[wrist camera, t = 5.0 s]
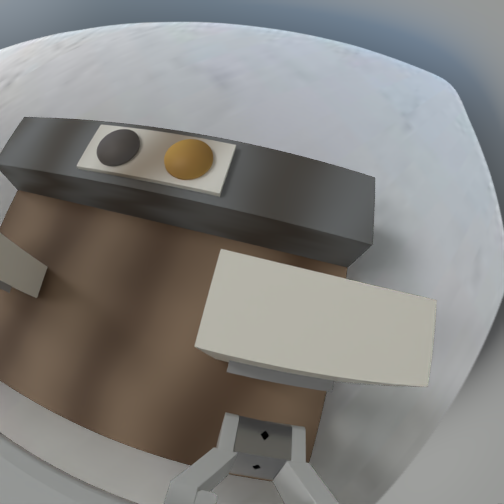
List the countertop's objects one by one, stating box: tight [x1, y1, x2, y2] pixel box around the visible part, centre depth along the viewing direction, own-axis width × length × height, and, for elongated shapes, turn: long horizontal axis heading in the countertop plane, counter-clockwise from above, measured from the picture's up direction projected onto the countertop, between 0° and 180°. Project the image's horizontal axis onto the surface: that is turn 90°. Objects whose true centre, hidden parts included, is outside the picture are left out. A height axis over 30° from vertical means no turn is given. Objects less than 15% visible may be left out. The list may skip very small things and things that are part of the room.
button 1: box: [194, 249, 437, 392], centre depth 11 cm, size 5×2×10 cm, turn 77°
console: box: [0, 117, 375, 481], centre depth 15 cm, size 23×18×6 cm
